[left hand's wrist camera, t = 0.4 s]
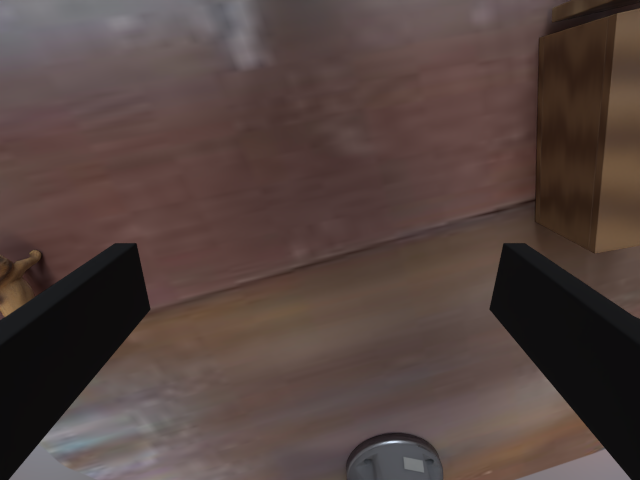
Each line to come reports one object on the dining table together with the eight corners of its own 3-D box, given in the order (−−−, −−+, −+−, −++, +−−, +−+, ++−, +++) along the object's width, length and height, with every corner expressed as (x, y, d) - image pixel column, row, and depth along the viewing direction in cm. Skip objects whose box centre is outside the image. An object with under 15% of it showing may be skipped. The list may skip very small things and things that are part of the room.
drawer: (554, -69, 30) (628, -125, 23) (674, -99, 29) (789, -166, 22) (545, 195, 39) (597, 216, 31) (637, 178, 38) (711, 194, 31)
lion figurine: (-15, 242, 42) (-100, 276, 33) (18, 223, 41) (-61, 254, 32) (68, 332, 46) (12, 382, 38) (99, 317, 45) (49, 365, 37)
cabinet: (539, 37, 34) (617, 13, 25) (657, 10, 33) (782, -25, 24) (534, 221, 41) (594, 253, 32) (632, 203, 40) (722, 230, 31)
